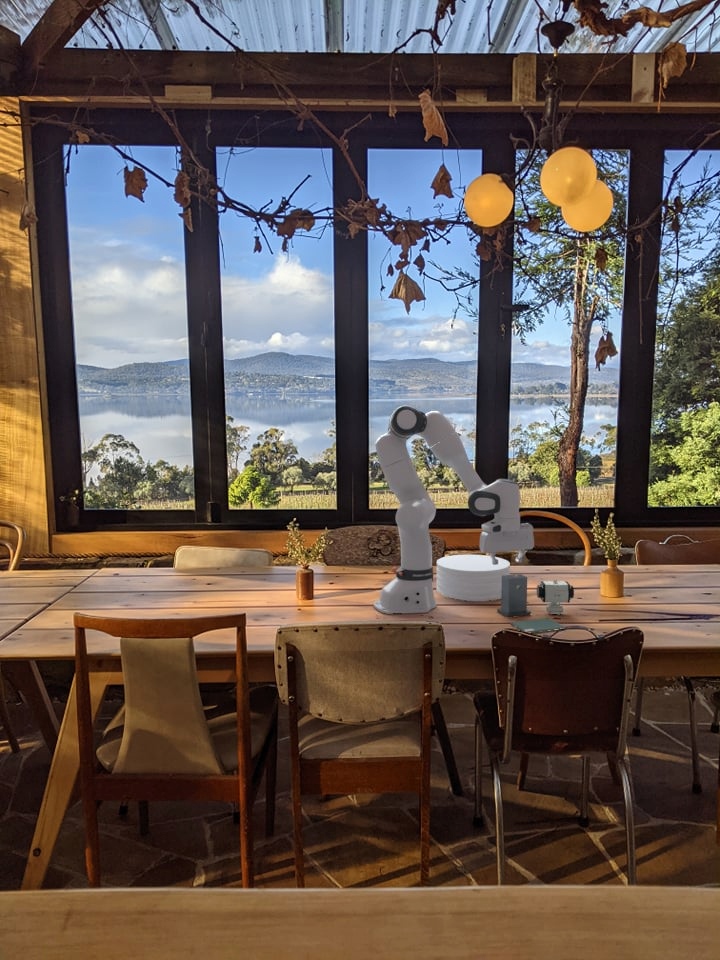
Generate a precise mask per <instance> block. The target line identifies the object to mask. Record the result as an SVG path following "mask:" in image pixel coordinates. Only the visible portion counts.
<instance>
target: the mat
mask: <svg viewBox="0 0 720 960" xmlns="http://www.w3.org/2000/svg"><path fill="white" fill-rule="evenodd" d="M511 624H512V625H513V626H512V625H511ZM510 625H511V626H512V627H514V626H516V627H517V628H516V630H519V629H520V630H523V631H527V632H531V633H533V634H536V633H535V632H540V631H548V630H554V629H560V628H564V627H565V626H564V625H563V624H560V623H558V622H557V621H555V620H552V619H551V618H549V617H544V618H537V619H536V618H535V619H527V620H518V621H512V622H510ZM520 630H519V631H520Z"/></svg>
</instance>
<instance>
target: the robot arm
mask: <svg viewBox="0 0 720 960" xmlns="http://www.w3.org/2000/svg"><path fill="white" fill-rule="evenodd" d="M413 436H419V437H421V438H422V439H423V440H424V441H425V443H426V444H427V446H428V447H429V449H430V451H431V452H432V454H433V456H434V457H436V459H437V460H439V462H440V463H441V464H443V465H445V466H447V467H449V468H451V470H453V471H454V472H455V473H456V474H457V476H458V477H459V480H461V482H462V484H463V485H464V487H465V488H466V490H467V493H468V499H467V505H468V506H467V507H468V509H469V511H470V512H471V513H472V514H473V515H475V516H477V517H478V516H479V517H485V516H486V517H487V516H490V515H494V518H493V519H492V520H489V521H487V522H484V523H482V524H481V530H483V531H481V533H480V535H479V550H480V551H481V552H482V553H484V554H488V556H490V557H491V558H492V564H493V565H497V564H498V559H496V558H495V557H496V554H497V553H500V552H513V551H514V552H515V551H517V552H519V553H518V555H517V556H515V562H516V563H523V562H522V561H523V557H524V555H525V553H526V550H533V548H534V546H535V539H534V527H533V525H532V524H531V523H529V522H526V523H521V514H520V511H519V510H520V506H521V492H520V486H519V484H518V483H517V482H516V481H514V480H511V479H509V478H508V479H507V478H497V479H496V480H495V481H493V482H492V483H490V484H487V483H485V482H484V481H483V479H482V478H481V477H480V476H479V474H478V472H477V471H476V469H475V468H474V466H473V465H472V463H471V462H470V459H469V457H468V455H467V451H466V449H465V445H464V444H463V441H462V439H461V438H460V435H459V434H458V432H457V431H456V429H455V428H454V426H453V425H452V422H450V421H449V419H447V417H446V416H445V415H444V414H443V413H442V412H440V411H439V410H431V411H428V412H426V413H425V412H423V411H422V410H419V409H418V408H416V407H413V406H411V405H401V406H399V407H396V408H395V410H393V412H392V413H391V414H390V416H389V420H388V428H387V432H386V433H384V434H381V435H380V436H379V437H378V438H377V439H376V441H375V443H374V444H375V450H376V455H377V458H378V463H379V464H380V467H381V471H382V472H383V475H384V478H385V481H386V483H387V485H388V487H389V490H390V491H391V492H392V493H393V495H394V496H395V497H396V500H398V501H399V504H400V505H399V507H398V508H397V511H396V513H395V523H396V525H397V529H398V535H399V540H400V567H399V568H397V567H396V566H393V567H392V568H391V572H392V573H394V574H395V576H396V577H394V578H393V579H392V580H391V581H389V582H388V583H387V584H385V585H384V586H383V587H382V588H381V591H380V596H379V600H375V601H374V602H373V607H374V610H376V611H378V612H380V613H382V614H385V613H386V615H394V614H393V613H402V614H421V613H424V614H425V613H429V612H430V611H431V610H433V609H435V608H436V607H437V602H436V599H435V592H434V586H433V583H434V567H433V544H432V543H431V536H430V530H429V525H430V523H431V522H432V521H433V520H434V519H435V516H436V513H437V508H436V507H437V506H436V504H435V502H434V501H433V500H432V498H431V495H429V492H428V491H427V489H426V488H425V486H424V484H423V483H422V480H421V479H420V477H419V474H418V473H417V470H416V467H415V465H414V462H413V460H412V458H411V455H410V453H409V450H408V447H407V441H408V440H409V439H411V438H412V437H413Z"/></svg>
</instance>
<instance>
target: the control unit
mask: <svg viewBox="0 0 720 960" xmlns="http://www.w3.org/2000/svg"><path fill="white" fill-rule="evenodd" d="M527 598H528V577H527V576H526V575H523V574H521V573H513V574H510V575H502V589H501V599H500V601H501V604H500V605H501V606H500V608H497V609H496V613H498V614H500V615H501V614H502V615H501V616H503V615H504V616H503V617H505V616H506V617H512V618H515V617H514V616H521V617H523V616H522V615H530V614H531V611H530V610H528V599H527ZM531 615H532V614H531ZM531 615H530V616H531ZM506 617H505V618H506Z"/></svg>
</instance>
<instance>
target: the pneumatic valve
mask: <svg viewBox="0 0 720 960" xmlns="http://www.w3.org/2000/svg"><path fill="white" fill-rule="evenodd" d="M574 595H575V590H574V586H573V585H571V584H570V583H569V582H568V581H566V580H564V581H561V580H560V581H559V580H557V579H553V580H552V581H551V580H550V581H549V580H541V581H540V584H538V585H536V598H538V599H540V600H541V601H542V602H543V603H547V605H546V606H545V608H546V613H549V612H550V613H549V615H550V614H557V615H556V616H561V615H562V613H563V612H564V607H563V605H561V603H564V604H565V603H566V604H567V603H571V602H570V601H571V599H574ZM560 614H561V615H560Z"/></svg>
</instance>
